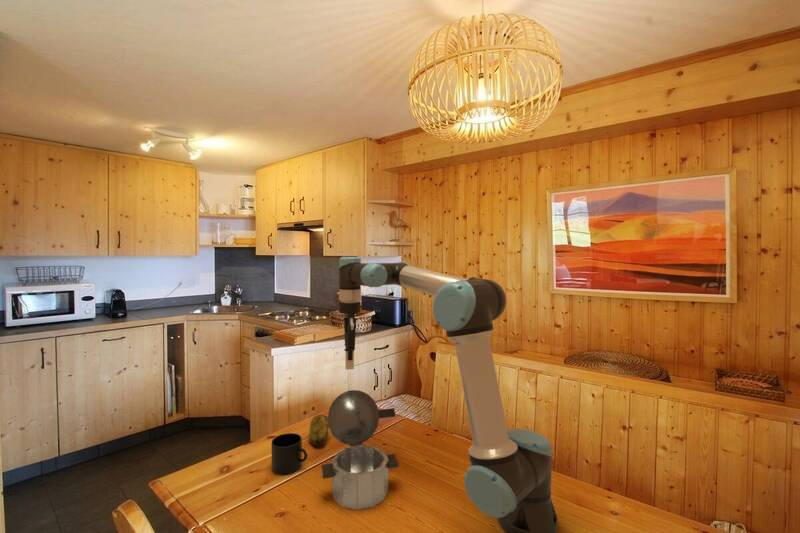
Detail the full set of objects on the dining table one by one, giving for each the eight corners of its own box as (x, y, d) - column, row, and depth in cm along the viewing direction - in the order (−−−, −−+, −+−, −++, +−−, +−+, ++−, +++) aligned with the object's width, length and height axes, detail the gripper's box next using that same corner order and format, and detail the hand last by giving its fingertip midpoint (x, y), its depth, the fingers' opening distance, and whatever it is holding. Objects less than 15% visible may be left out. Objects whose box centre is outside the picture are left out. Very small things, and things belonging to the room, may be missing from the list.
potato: (301, 448, 135) (301, 426, 135) (314, 431, 148) (314, 411, 148) (323, 449, 134) (323, 427, 134) (334, 432, 147) (334, 412, 147)
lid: (392, 386, 130) (390, 387, 132) (326, 392, 124) (326, 394, 126) (398, 439, 122) (397, 440, 125) (329, 449, 116) (328, 449, 119)
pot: (403, 501, 106) (403, 469, 106) (324, 515, 101) (324, 481, 100) (388, 467, 123) (388, 439, 123) (320, 478, 117) (320, 448, 117)
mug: (299, 478, 117) (299, 450, 117) (265, 472, 120) (265, 444, 120) (313, 462, 126) (313, 435, 126) (282, 457, 129) (282, 431, 129)
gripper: (336, 299, 136) (336, 363, 137) (341, 304, 123) (341, 375, 124) (357, 298, 138) (357, 362, 139) (363, 303, 125) (363, 373, 126)
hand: (349, 368), depth 131 cm, fingers closed
